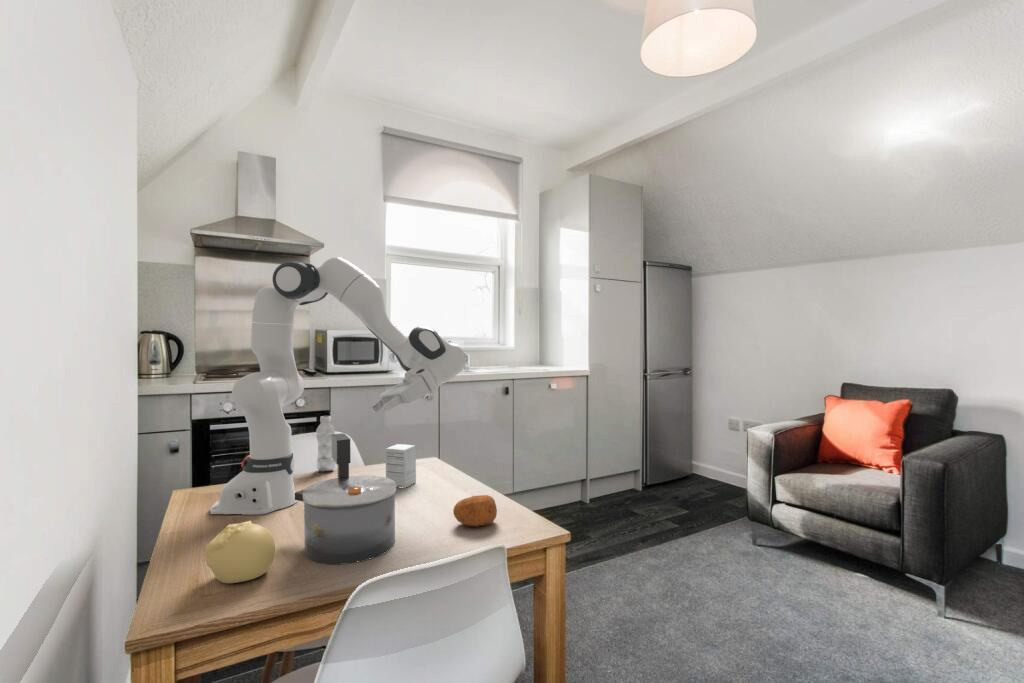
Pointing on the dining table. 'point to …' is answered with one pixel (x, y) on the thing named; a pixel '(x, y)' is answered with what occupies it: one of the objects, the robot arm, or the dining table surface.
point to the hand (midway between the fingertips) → (378, 409)
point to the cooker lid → (347, 483)
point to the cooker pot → (348, 531)
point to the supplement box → (401, 464)
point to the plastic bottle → (325, 444)
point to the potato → (476, 510)
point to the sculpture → (240, 552)
